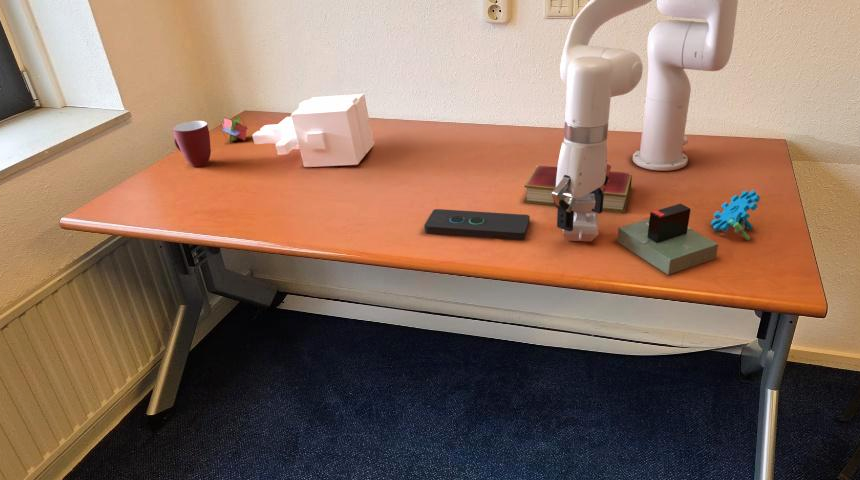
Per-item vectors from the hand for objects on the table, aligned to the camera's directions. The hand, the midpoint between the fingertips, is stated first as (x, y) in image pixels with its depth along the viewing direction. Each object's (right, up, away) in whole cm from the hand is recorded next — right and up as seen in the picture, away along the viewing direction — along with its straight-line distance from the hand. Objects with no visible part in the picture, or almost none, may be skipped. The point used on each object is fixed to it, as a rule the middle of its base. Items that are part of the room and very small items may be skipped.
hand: (579, 219), depth 124 cm
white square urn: (0, -3, +3) cm, 4 cm away
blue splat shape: (+30, -2, +3) cm, 30 cm away
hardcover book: (+3, +7, +18) cm, 20 cm away
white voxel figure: (-60, +21, +45) cm, 77 cm away
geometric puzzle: (-84, +28, +57) cm, 106 cm away
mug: (-90, +19, +44) cm, 102 cm away
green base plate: (+15, -6, -3) cm, 16 cm away
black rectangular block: (+15, -3, -5) cm, 16 cm away
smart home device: (-19, -1, +7) cm, 21 cm away
